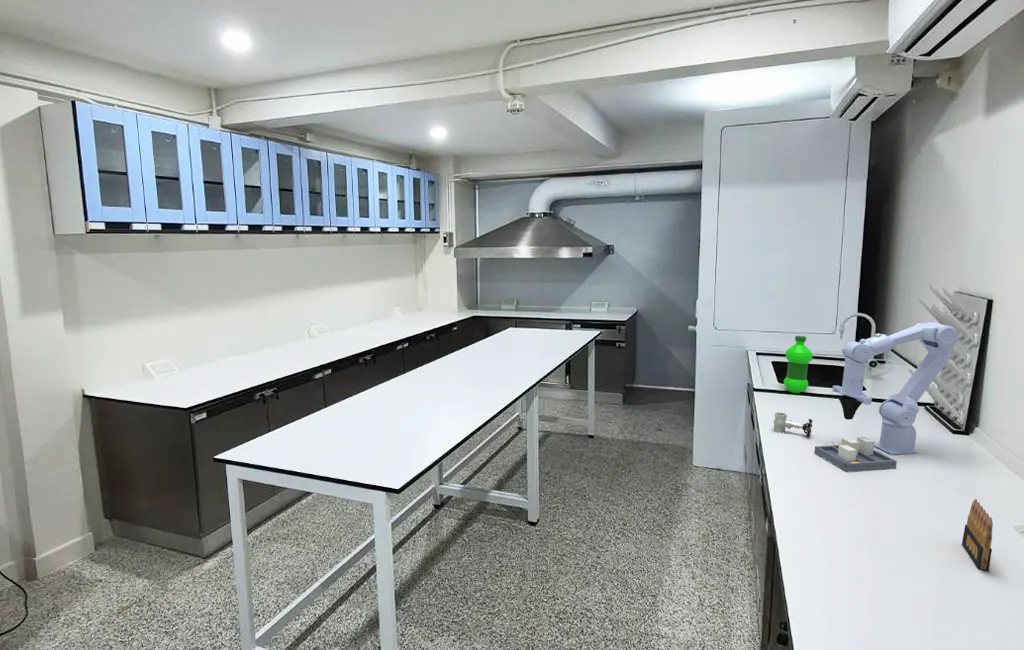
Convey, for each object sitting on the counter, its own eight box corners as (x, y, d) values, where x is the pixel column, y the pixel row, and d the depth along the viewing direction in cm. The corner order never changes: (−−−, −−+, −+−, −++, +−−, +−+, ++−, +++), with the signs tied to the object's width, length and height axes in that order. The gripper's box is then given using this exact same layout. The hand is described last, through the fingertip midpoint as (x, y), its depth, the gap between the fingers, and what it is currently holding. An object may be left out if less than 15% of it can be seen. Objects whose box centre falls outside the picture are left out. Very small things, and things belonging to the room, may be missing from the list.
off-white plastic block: (845, 458, 173) (846, 444, 173) (855, 463, 170) (856, 450, 169) (837, 459, 173) (838, 445, 172) (846, 464, 169) (848, 450, 168)
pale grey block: (863, 449, 180) (864, 436, 180) (872, 454, 176) (874, 441, 176) (855, 450, 180) (857, 437, 179) (865, 455, 176) (866, 441, 175)
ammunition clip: (961, 543, 130) (969, 496, 127) (971, 545, 129) (979, 497, 127) (977, 569, 120) (986, 518, 118) (988, 571, 119) (997, 520, 117)
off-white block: (848, 450, 179) (849, 437, 179) (857, 455, 176) (859, 442, 175) (840, 451, 179) (842, 438, 178) (849, 456, 175) (851, 442, 174)
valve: (771, 432, 199) (808, 440, 192) (772, 415, 198) (810, 422, 191) (774, 427, 204) (811, 434, 198) (776, 410, 203) (813, 416, 196)
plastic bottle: (807, 396, 242) (813, 340, 237) (780, 392, 247) (786, 337, 243) (809, 390, 250) (815, 336, 246) (783, 386, 256) (789, 333, 251)
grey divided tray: (860, 450, 184) (861, 442, 183) (895, 468, 170) (896, 460, 169) (814, 453, 181) (815, 445, 180) (846, 472, 167) (847, 463, 167)
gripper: (826, 373, 187) (821, 412, 189) (859, 385, 173) (854, 427, 175) (845, 372, 188) (840, 411, 190) (879, 384, 174) (874, 426, 176)
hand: (848, 418), depth 183 cm, fingers closed
